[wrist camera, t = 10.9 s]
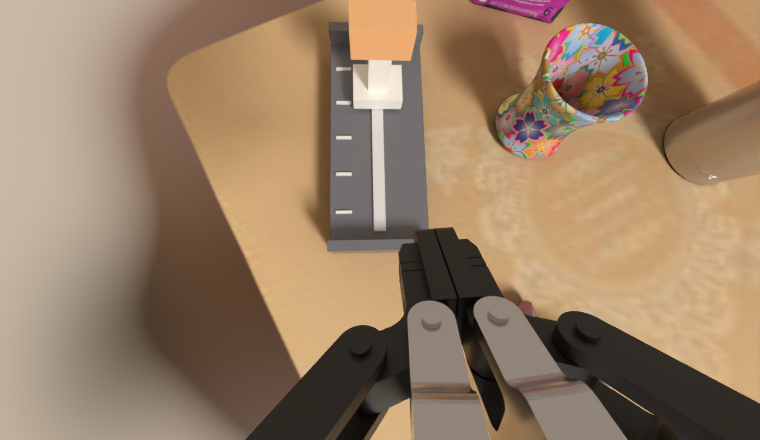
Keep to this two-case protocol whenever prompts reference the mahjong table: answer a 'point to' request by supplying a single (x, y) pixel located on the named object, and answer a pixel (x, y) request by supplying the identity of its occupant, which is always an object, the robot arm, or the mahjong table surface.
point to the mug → (573, 90)
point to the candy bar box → (528, 7)
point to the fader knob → (380, 50)
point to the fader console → (375, 159)
